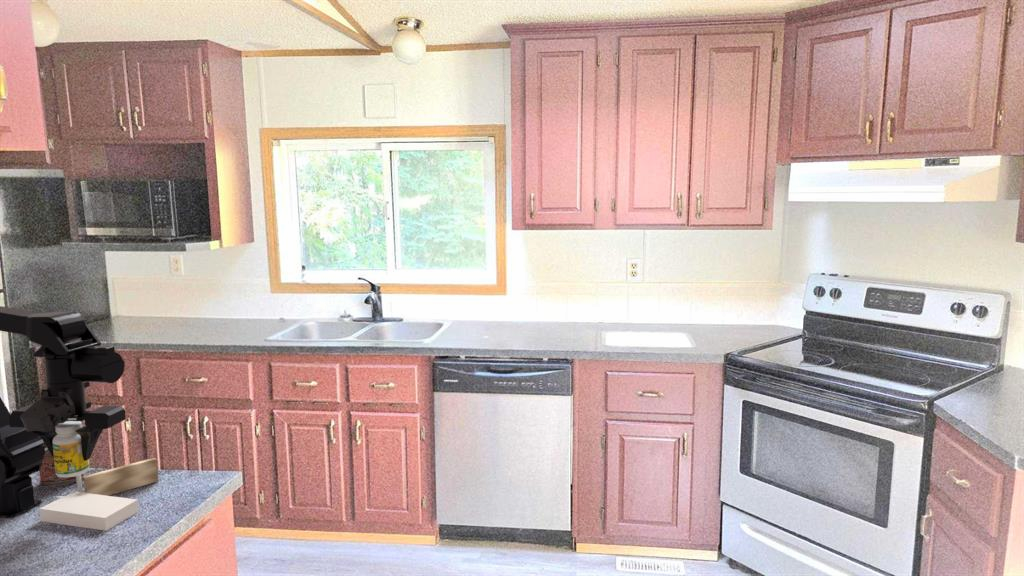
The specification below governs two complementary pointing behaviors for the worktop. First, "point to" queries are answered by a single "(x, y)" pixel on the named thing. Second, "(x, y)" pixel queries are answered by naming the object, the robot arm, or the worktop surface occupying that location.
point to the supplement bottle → (69, 450)
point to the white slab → (89, 510)
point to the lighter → (52, 472)
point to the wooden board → (122, 478)
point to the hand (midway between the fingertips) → (72, 459)
